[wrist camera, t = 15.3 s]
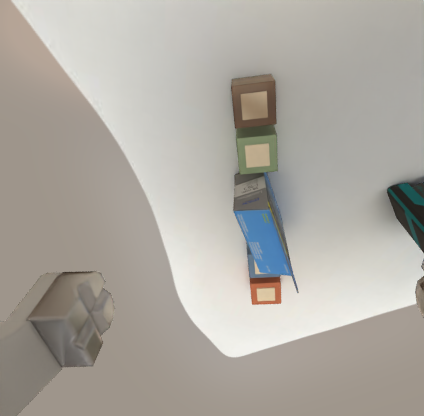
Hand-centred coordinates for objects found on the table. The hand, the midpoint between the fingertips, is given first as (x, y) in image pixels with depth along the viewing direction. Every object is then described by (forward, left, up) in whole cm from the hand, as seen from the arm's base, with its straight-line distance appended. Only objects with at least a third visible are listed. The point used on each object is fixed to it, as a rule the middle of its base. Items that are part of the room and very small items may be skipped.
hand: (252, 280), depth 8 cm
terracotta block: (-8, +25, -28) cm, 39 cm away
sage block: (-3, +6, -28) cm, 29 cm away
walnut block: (-1, +1, -28) cm, 28 cm away
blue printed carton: (-5, +13, -28) cm, 32 cm away
